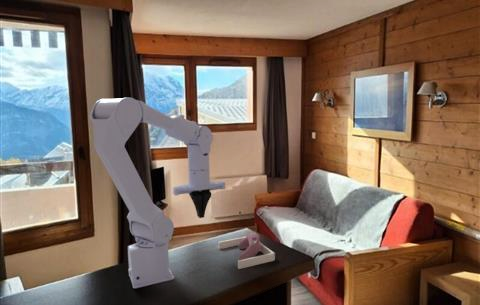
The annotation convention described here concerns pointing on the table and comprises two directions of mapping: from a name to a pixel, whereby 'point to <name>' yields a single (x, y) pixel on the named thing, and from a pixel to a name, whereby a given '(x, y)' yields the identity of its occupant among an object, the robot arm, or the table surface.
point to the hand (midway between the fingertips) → (200, 216)
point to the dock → (253, 260)
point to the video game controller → (249, 246)
